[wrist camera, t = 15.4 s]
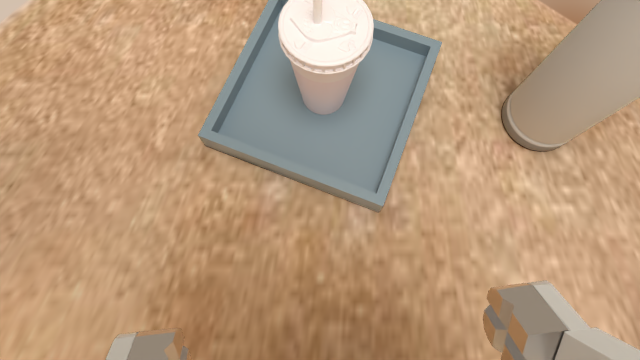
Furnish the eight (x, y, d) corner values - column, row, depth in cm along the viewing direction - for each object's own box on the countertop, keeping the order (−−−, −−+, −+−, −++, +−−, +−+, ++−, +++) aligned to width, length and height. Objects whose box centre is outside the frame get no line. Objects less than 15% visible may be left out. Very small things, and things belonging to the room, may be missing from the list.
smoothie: (294, 59, 36) (282, -82, 23) (364, 70, 36) (393, -66, 23) (280, 122, 34) (258, 10, 21) (353, 134, 34) (378, 29, 21)
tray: (205, 145, 35) (197, 135, 32) (278, 4, 39) (275, -14, 37) (378, 212, 33) (383, 206, 31) (434, 57, 37) (442, 42, 35)
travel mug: (583, 147, 35) (909, -35, 16) (510, 156, 35) (751, -20, 15) (562, 84, 37) (832, -149, 18) (493, 92, 36) (690, -137, 17)
